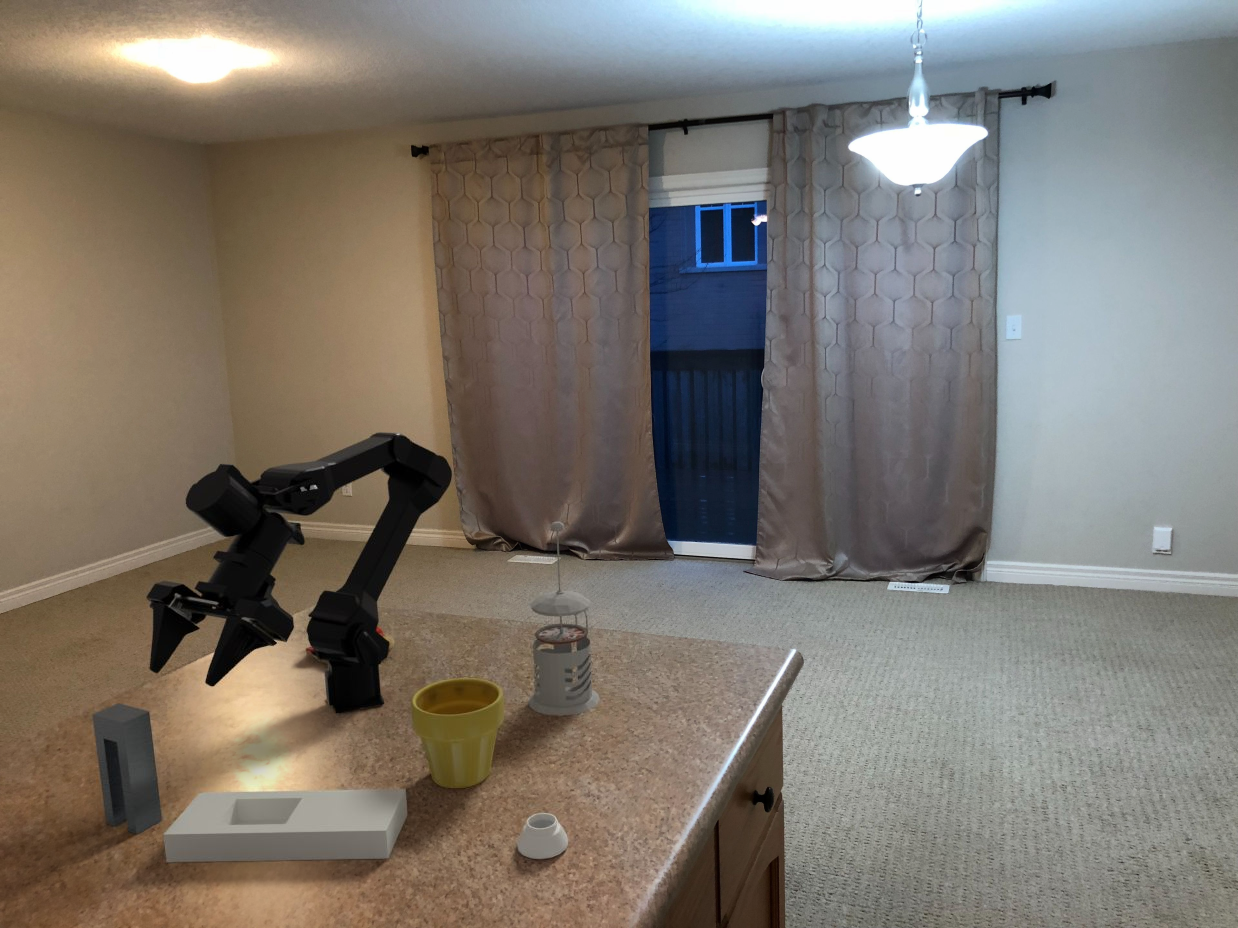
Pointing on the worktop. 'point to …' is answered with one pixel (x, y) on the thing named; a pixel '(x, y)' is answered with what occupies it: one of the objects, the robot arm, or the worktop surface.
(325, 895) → the worktop surface
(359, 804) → the white slotted block
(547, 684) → the french press
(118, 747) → the clip
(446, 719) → the plant pot
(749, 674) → the worktop surface
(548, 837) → the white jar
